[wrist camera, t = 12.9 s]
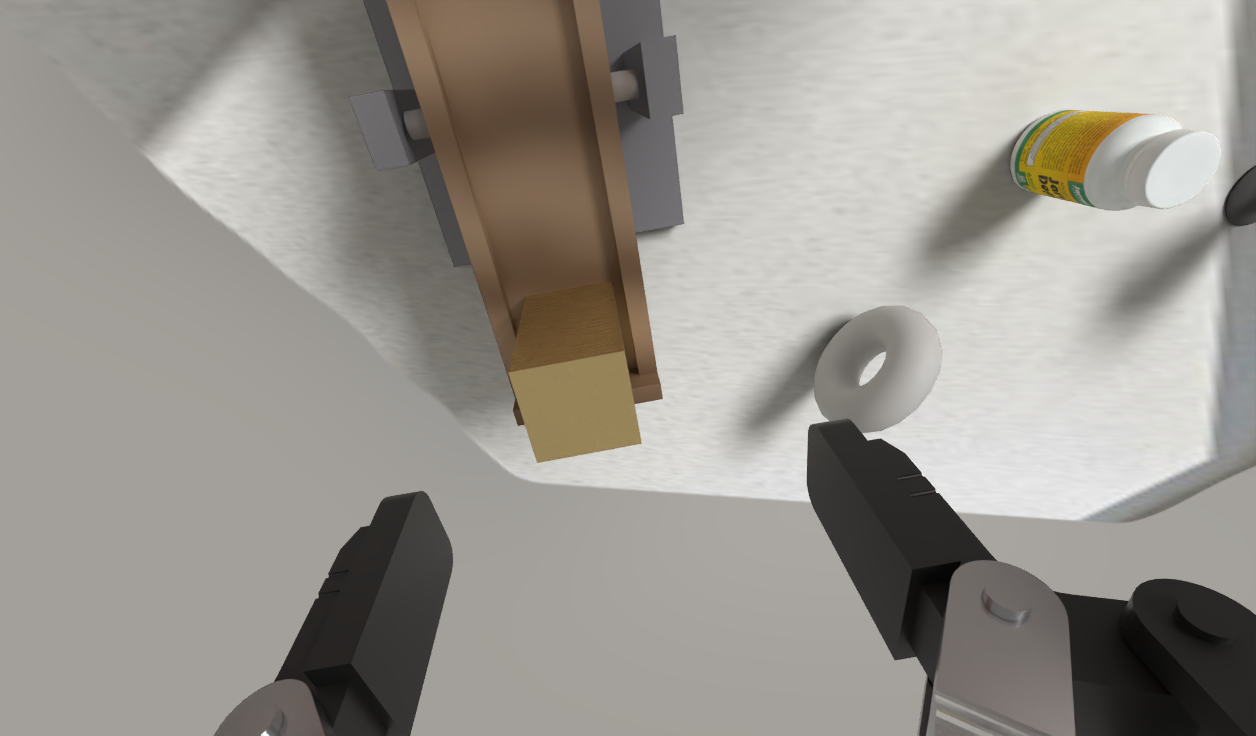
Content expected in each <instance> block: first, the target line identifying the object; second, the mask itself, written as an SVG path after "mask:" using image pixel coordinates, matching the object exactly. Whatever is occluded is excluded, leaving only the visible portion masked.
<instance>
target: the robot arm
mask: <svg viewBox="0 0 1256 736" xmlns="http://www.w3.org/2000/svg"><path fill="white" fill-rule="evenodd" d="M807 487H808V493H809V497H810V500H811V503H812V506H813V508H814V510H815V512H816V514H817V516H818V518H819V520H820V521H821V523H822V525H823V527H824V529H825V531H826V533H827V535H828V536H829V538H830V540H831V542H832V544H833V546H834V547H835V549H836V551H837V553H838V555H839V557H840V559H841V561H842V563H843V564H844V566H845V568H846V570H847V572H848V574H849V576H850V577H851V579H852V581H853V583H854V585H855V587H856V589H857V591H858V592H859V594H860V596H861V598H862V600H863V602H864V604H865V606H866V607H867V609H868V611H869V613H870V615H871V617H872V619H873V620H874V622H875V624H876V626H877V628H878V630H879V632H880V633H881V635H882V637H883V639H884V641H885V643H886V645H887V646H888V648H889V650H890V652H891V654H892V656H893V658H894V660H900V659H906V658H911V657H917V658H918V660H919V661H920V663H921V665H922V666H923V669H924V670H925V672H926V674H927V677H926V681H925V686H924V693H923V700H922V707H921V713H920V719H919V726H918V733H917V736H1256V615H1255V614H1254V613H1252V612H1251V611H1250V610H1248V609H1247V608H1245V607H1244V606H1242V605H1241V604H1239V603H1238V602H1236V601H1234V600H1232V599H1230V598H1229V597H1227V596H1225V595H1223V594H1220V593H1218V592H1216V591H1214V590H1211V589H1209V588H1206V587H1204V586H1201V585H1198V584H1194V583H1190V582H1186V581H1181V580H1175V579H1154V580H1149V581H1146V582H1144V583H1142V584H1140V585H1139V586H1138V587H1137V588H1136V589H1135V591H1134V592H1133V594H1132V596H1131V598H1130V600H1129V601H1124V600H1114V599H1106V598H1097V597H1089V596H1080V595H1071V594H1065V593H1059V592H1055V591H1053V590H1052V589H1050V588H1049V587H1048V586H1047V585H1046V584H1045V583H1044V582H1042V581H1041V580H1039V579H1038V578H1037V577H1035V576H1034V575H1032V574H1030V573H1028V572H1027V571H1025V570H1023V569H1020V568H1018V567H1016V566H1013V565H1010V564H1006V563H1003V562H998V561H997V560H996V559H995V558H994V557H993V556H992V555H991V554H990V553H989V551H988V550H987V549H986V548H985V547H984V546H983V544H982V543H981V542H980V541H979V540H978V538H977V537H976V536H975V535H974V534H973V533H972V532H971V530H970V529H969V528H968V527H967V526H966V524H965V523H964V522H963V521H962V520H961V519H960V517H959V516H958V515H957V514H956V513H955V511H954V510H953V509H952V508H951V507H950V506H949V504H948V503H947V502H946V501H945V500H944V499H943V497H942V496H941V495H940V494H939V493H936V491H935V488H934V487H933V486H932V484H931V483H930V482H929V481H928V480H927V479H926V477H923V476H922V473H921V471H920V470H919V469H918V468H917V467H916V466H915V464H914V463H913V462H912V461H911V460H910V459H909V457H908V456H907V455H906V454H905V453H904V452H902V451H900V450H899V449H897V448H895V447H894V446H892V445H891V444H889V443H887V442H886V441H884V440H882V439H875V440H869V441H867V439H866V438H865V437H864V436H863V434H862V433H861V432H860V430H859V429H858V428H857V427H856V425H855V424H854V423H853V422H852V421H851V420H850V419H848V418H846V419H840V420H834V421H829V422H823V423H817V424H812V425H810V427H809V430H808V454H807ZM452 566H453V553H452V547H451V543H450V540H449V538H448V536H447V534H446V532H445V530H444V527H443V525H442V523H441V521H440V519H439V517H438V515H437V513H436V511H435V509H434V507H433V504H432V502H431V500H430V499H429V496H428V495H427V494H426V493H425V492H423V491H419V492H413V493H407V494H401V495H396V496H390V497H386V498H384V499H383V500H382V501H381V503H380V505H379V507H378V509H377V511H376V513H375V516H374V518H373V520H372V522H371V524H370V526H366V527H361V528H360V529H359V530H358V531H357V532H356V533H355V534H354V535H353V536H352V538H350V540H349V541H348V542H347V543H346V544H345V545H344V546H343V547H342V548H341V549H340V551H339V553H338V555H337V557H336V559H335V562H334V563H333V565H332V568H331V569H330V571H329V573H328V574H329V578H326V579H325V582H324V583H323V585H322V588H321V589H320V591H319V598H318V599H316V600H315V601H314V603H313V606H312V608H311V609H310V611H309V613H308V615H307V617H306V620H305V621H304V624H303V625H302V628H301V629H300V632H299V634H298V636H297V638H296V640H295V642H294V644H293V646H292V648H291V650H290V652H289V654H288V656H287V658H286V660H285V662H284V664H283V666H282V668H281V670H280V672H279V674H278V676H277V678H276V679H275V681H274V683H271V684H269V685H266V686H264V687H262V688H261V689H259V690H257V691H256V692H254V693H253V694H251V695H250V696H249V697H248V698H246V699H245V700H243V701H242V702H241V703H240V704H239V705H238V706H237V707H236V708H235V709H234V710H233V711H232V712H231V713H230V714H229V715H228V716H227V717H226V719H225V720H224V721H223V722H222V724H221V725H220V726H219V728H218V730H217V731H216V733H215V734H214V736H410V734H411V730H412V726H413V722H414V718H415V714H416V710H417V706H418V702H419V698H420V695H421V691H422V686H423V683H424V679H425V675H426V671H427V667H428V663H429V659H430V655H431V651H432V647H433V643H434V640H435V635H436V631H437V627H438V623H439V619H440V616H441V612H442V608H443V604H444V600H445V596H446V592H447V588H448V584H449V580H450V577H451V572H452Z"/></svg>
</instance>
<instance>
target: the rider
mask: <svg viewBox="0 0 1256 736" xmlns="http://www.w3.org/2000/svg"><path fill="white" fill-rule="evenodd" d="M508 374H509V377H510V380H511V383H512V386H513V389H514V392H515V395H516V398H517V402H518V405H519V408H520V411H521V414H522V417H523V420H524V423H525V426H526V429H527V433H528V436H529V439H530V442H531V445H532V448H533V451H534V454H535V457H536V461H537V463H540V462H545V461H550V460H556V459H561V458H567V457H572V456H577V455H583V454H588V453H593V452H599V451H604V450H610V449H615V448H620V447H626V446H631V445H637V444H642V443H641V437H640V432H639V426H638V421H637V415H636V410H635V404H634V399H633V393H632V388H631V382H630V376H629V371H628V365H627V360H626V354H625V349H624V344H623V338H622V333H621V328H620V322H619V317H618V312H617V306H616V301H615V296H614V290H613V285H612V280H611V281H606V282H600V283H595V284H589V285H584V286H579V287H573V288H568V289H563V290H557V291H552V292H546V293H541V294H536V295H530V296H526V298H525V302H524V307H523V311H522V315H521V319H520V324H519V328H518V332H517V337H516V341H515V345H514V350H513V354H512V358H511V363H510V367H509V371H508Z"/></svg>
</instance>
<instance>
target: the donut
mask: <svg viewBox="0 0 1256 736" xmlns="http://www.w3.org/2000/svg"><path fill="white" fill-rule="evenodd" d="M885 351H886V359H885V361H884V363H883V365H882V368H881V369H880V370H879V372H878V373H877V374H876V376H875V377H874V378H872V379H871V380H870V381H869V382H868V383H866V384H865V385H863V386H860V385H859V382H860V377H861V375H862V373H863V371H864V369H865V367H866V366H867V365H868V363H869V362H870V361H871V360H872V359H873V358H874V357H876V356H877V355H878V354H880V353H882V352H885ZM941 359H942V347H941V343H940V340H939V336H938V332H937V329H936V328H935V327H934V326H933V325H932V324H931V323H930V321H929V320H928V319H927V318H926V317H925V316H924V315H923V314H922V313H920V312H917V311H915V310H912V309H909V308H907V307H904V306H882V307H878V308H875V309H873V310H870V311H867V312H864V313H862V314H860V315H859V316H857V317H855V318H854V319H852V320H851V321H849V322H848V323H846V324H845V325H844V326H843V327H842V328H841V329H840V330H839V331H838V332H837V333H836V334H835V335H834V336H833V338H832V339H831V341H830V342H829V343H828V345H827V346H826V348H825V349H824V351H823V353H822V355H821V357H820V360H819V362H818V364H817V368H816V372H815V377H814V396H815V400H816V402H817V404H818V407H819V409H820V411H821V413H822V415H823V416H824V417H825V418H827V419H828V420H829V421H834V420H840V419H846V418H848V419H850V420H851V421H852V422H853V423H854V424H855V425H856V427H857V428H858V429H859V430H860V432H861V433H868V432H876V431H882V430H884V429H886V428H889V427H891V426H893V425H895V424H898V423H900V422H901V421H902V420H903V419H905V418H906V417H907V416H909V415H910V414H911V413H912V412H914V411H915V410H916V409H917V408H918V407H919V406H920V404H921V403H922V402H923V401H924V399H925V398H926V397H927V395H928V394H929V393H930V392H931V390H932V388H933V386H934V383H935V381H936V379H937V376H938V374H939V372H940V368H941Z"/></svg>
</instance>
